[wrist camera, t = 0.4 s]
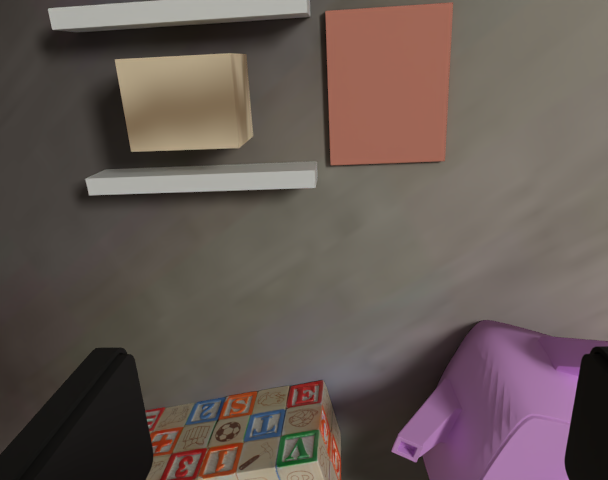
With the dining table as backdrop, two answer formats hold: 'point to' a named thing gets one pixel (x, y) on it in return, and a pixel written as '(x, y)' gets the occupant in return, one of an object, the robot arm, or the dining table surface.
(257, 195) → the dining table surface
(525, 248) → the dining table surface
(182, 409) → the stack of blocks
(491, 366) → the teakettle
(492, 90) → the dining table surface
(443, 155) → the pad
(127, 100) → the maple block
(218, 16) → the channel
